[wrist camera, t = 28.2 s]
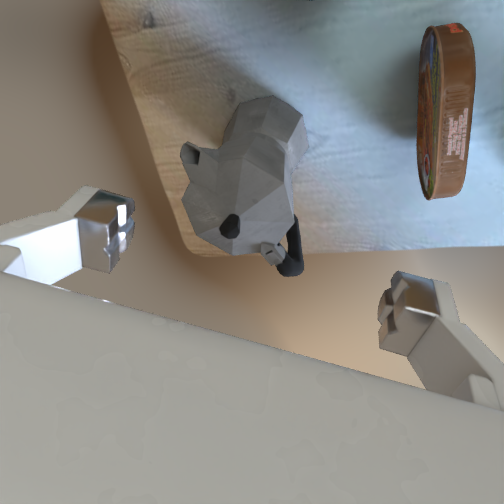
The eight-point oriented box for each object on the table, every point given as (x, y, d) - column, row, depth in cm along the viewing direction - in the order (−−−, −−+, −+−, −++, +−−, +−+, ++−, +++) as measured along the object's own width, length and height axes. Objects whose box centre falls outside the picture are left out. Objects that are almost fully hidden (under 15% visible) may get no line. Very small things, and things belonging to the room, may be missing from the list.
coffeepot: (196, 112, 45) (126, 196, 32) (264, 57, 41) (217, 128, 27) (279, 215, 51) (251, 324, 38) (347, 178, 47) (344, 286, 33)
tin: (420, 17, 36) (435, 38, 30) (460, 11, 36) (484, 31, 29) (414, 174, 45) (424, 217, 39) (446, 172, 44) (462, 215, 38)
